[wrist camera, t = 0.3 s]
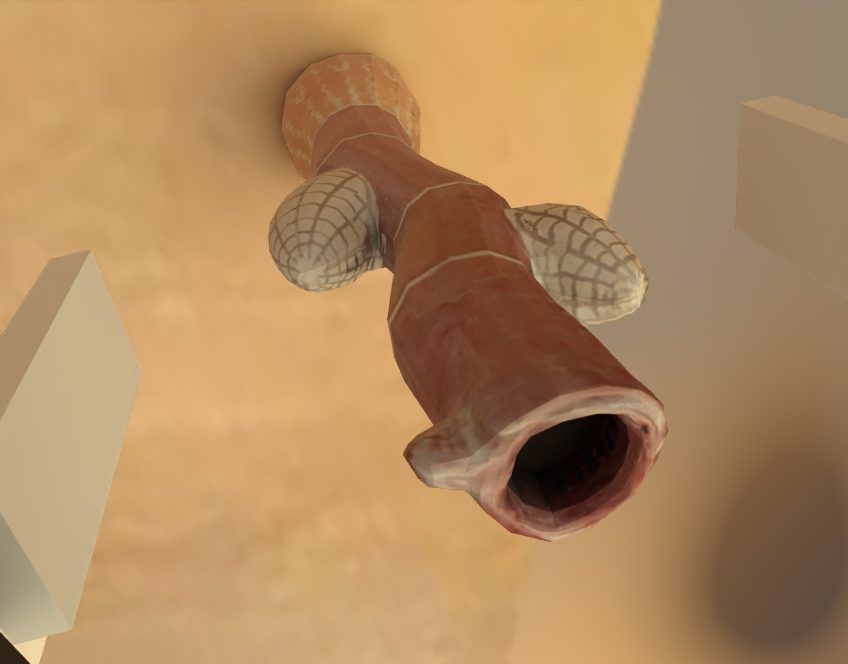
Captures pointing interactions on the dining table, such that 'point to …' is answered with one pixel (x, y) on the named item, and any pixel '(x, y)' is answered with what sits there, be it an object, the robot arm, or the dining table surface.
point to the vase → (473, 306)
